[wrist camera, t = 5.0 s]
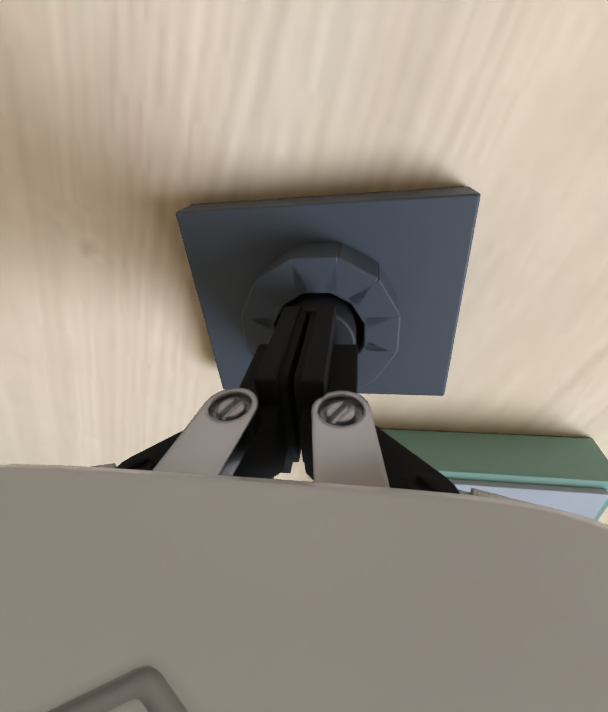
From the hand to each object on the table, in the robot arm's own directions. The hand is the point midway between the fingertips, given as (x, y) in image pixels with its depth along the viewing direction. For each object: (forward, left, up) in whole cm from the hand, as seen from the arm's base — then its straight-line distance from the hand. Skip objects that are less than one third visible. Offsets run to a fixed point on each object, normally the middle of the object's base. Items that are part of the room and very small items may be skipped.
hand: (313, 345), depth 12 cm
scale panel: (0, 0, -4) cm, 4 cm away
